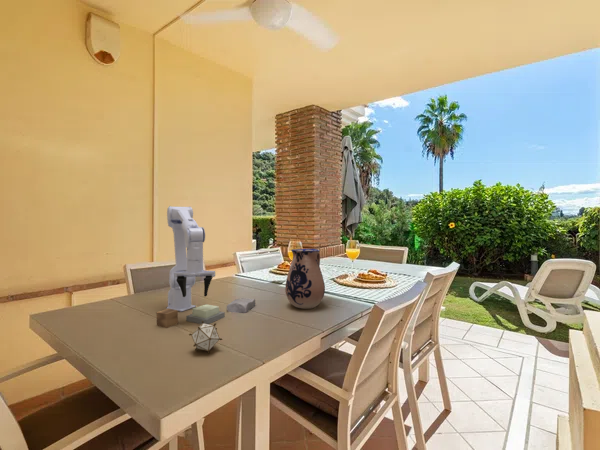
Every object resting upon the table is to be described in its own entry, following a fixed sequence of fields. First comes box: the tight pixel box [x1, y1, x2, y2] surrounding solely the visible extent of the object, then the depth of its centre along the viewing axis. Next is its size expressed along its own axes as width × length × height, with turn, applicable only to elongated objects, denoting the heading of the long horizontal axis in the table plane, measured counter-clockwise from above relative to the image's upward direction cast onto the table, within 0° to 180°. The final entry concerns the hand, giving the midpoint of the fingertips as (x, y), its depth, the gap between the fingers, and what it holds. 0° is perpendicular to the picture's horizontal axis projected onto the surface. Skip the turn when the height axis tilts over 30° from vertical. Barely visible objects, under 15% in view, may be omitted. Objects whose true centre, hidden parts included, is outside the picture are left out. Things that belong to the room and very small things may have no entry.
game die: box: [188, 321, 223, 355], centre depth 88 cm, size 9×8×10 cm
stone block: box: [226, 297, 256, 314], centre depth 129 cm, size 12×5×10 cm
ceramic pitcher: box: [284, 248, 326, 310], centre depth 134 cm, size 18×21×25 cm
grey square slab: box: [185, 310, 226, 325], centre depth 116 cm, size 10×10×2 cm
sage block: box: [191, 304, 220, 318], centre depth 115 cm, size 7×7×2 cm
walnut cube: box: [156, 308, 179, 329], centre depth 109 cm, size 5×5×5 cm
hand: (195, 296), depth 112 cm, fingers open, 7 cm apart
